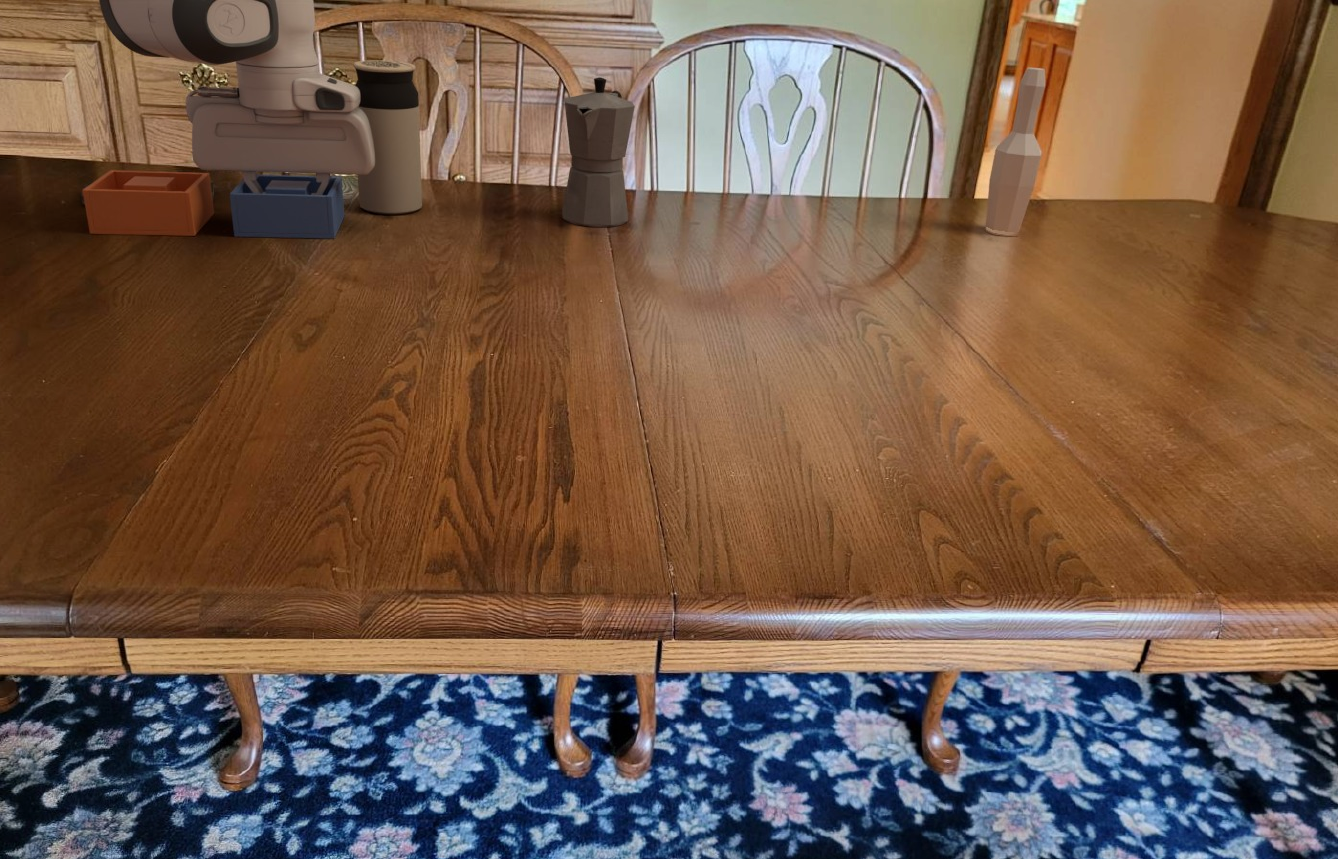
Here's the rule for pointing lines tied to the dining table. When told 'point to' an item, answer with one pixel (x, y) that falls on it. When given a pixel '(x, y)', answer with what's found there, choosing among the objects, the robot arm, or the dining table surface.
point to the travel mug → (391, 137)
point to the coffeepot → (597, 157)
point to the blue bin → (287, 210)
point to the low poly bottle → (1016, 160)
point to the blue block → (289, 187)
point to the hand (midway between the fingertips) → (290, 208)
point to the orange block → (151, 184)
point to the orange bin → (148, 205)
